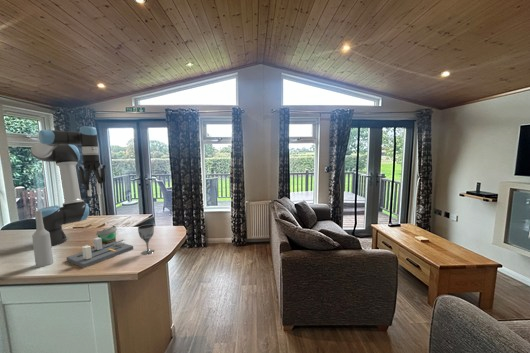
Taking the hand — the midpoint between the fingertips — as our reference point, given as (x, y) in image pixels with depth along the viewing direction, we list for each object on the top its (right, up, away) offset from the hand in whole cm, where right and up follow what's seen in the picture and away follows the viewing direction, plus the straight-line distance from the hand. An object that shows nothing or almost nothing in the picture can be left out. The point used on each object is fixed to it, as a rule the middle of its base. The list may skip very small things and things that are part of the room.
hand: (94, 195), depth 133 cm
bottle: (-15, -35, -14) cm, 41 cm away
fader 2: (+4, -30, -2) cm, 31 cm away
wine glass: (+32, -32, -3) cm, 46 cm away
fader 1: (+7, -31, -14) cm, 35 cm away
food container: (+1, -32, +12) cm, 34 cm away
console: (+7, -33, -4) cm, 34 cm away
